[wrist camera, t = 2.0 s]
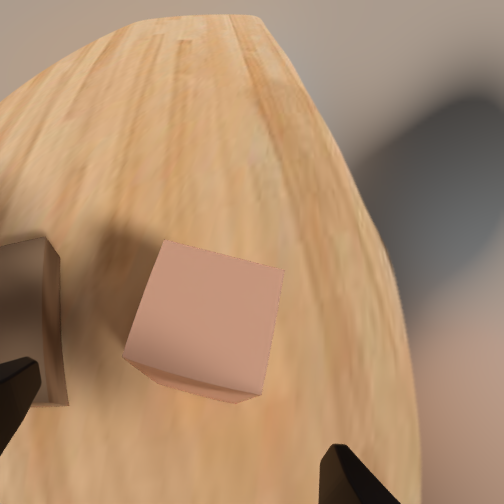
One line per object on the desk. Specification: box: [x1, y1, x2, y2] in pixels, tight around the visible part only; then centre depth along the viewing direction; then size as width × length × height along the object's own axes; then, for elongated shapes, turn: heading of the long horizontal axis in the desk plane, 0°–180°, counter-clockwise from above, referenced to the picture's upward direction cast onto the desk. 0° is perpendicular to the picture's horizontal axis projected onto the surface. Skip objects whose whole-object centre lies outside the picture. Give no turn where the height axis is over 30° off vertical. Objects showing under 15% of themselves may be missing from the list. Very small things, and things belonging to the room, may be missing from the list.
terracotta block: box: [122, 239, 285, 404], centre depth 15 cm, size 5×5×9 cm
